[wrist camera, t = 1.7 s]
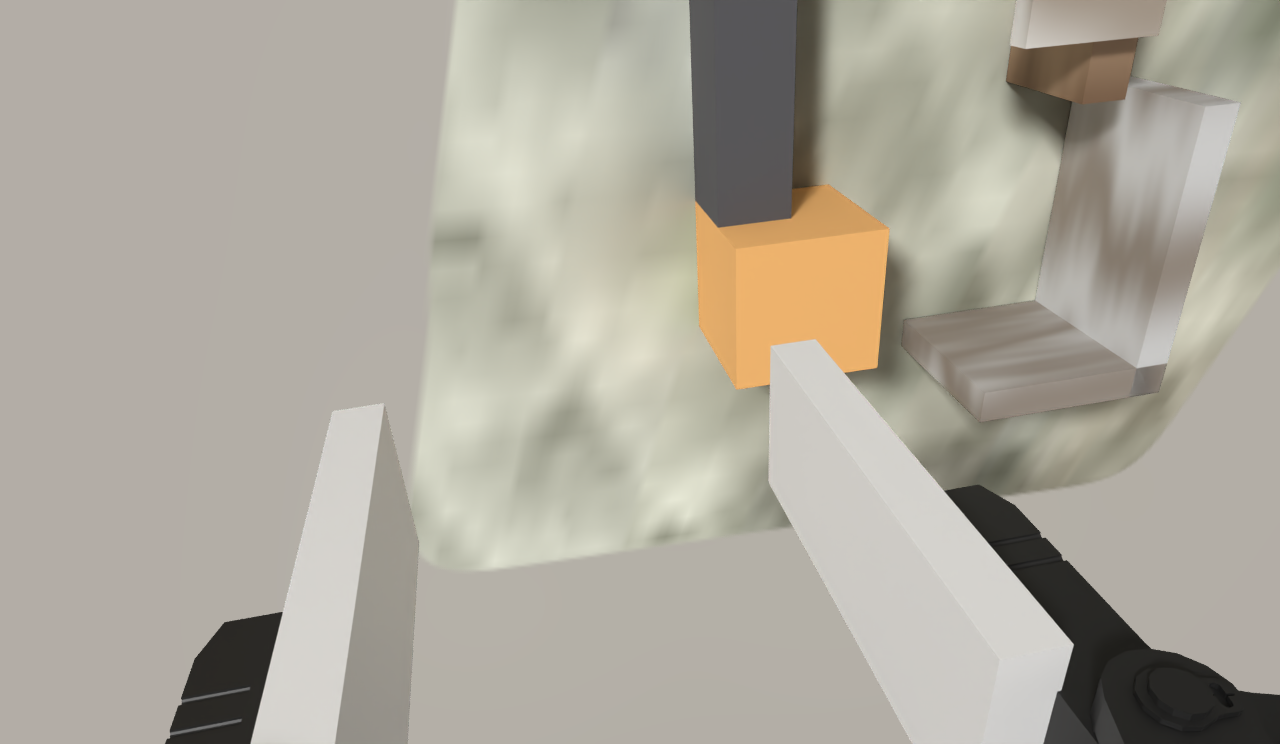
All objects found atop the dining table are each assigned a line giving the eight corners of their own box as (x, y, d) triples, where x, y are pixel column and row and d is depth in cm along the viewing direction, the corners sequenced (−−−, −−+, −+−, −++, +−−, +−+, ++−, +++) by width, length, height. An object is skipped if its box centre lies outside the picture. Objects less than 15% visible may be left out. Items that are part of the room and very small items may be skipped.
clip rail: (970, -329, 24) (1113, -395, 19) (1189, -337, 25) (1383, -402, 20) (901, 346, 34) (980, 422, 29) (1056, 322, 35) (1159, 392, 30)
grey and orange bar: (680, -294, 23) (731, -343, 19) (851, -301, 24) (940, -349, 19) (699, 326, 32) (736, 389, 28) (822, 308, 33) (877, 367, 29)
